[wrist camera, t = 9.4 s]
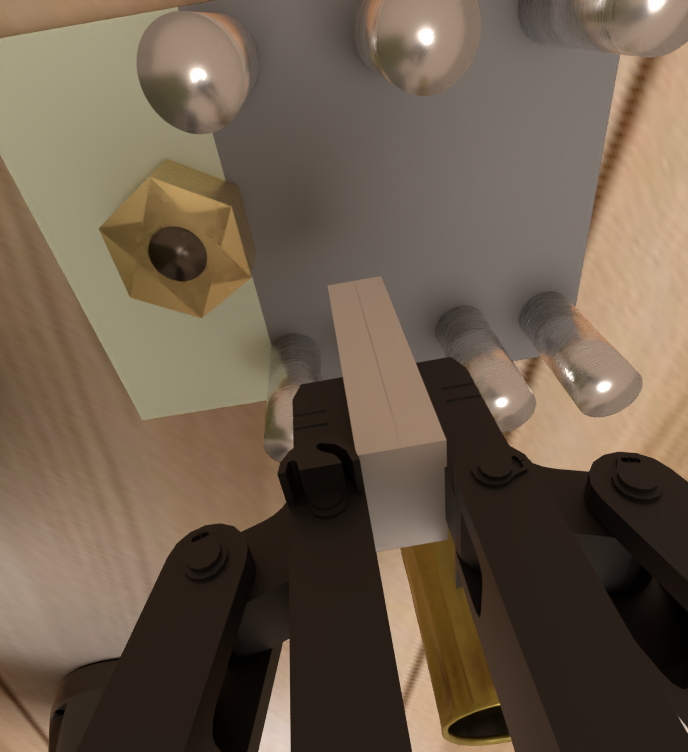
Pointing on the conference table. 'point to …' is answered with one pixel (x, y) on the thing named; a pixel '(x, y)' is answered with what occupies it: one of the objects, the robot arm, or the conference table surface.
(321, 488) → the robot arm
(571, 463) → the conference table surface
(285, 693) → the conference table surface
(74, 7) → the conference table surface
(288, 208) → the plate
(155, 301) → the nut
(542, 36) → the set of metal pegs
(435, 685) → the vase
